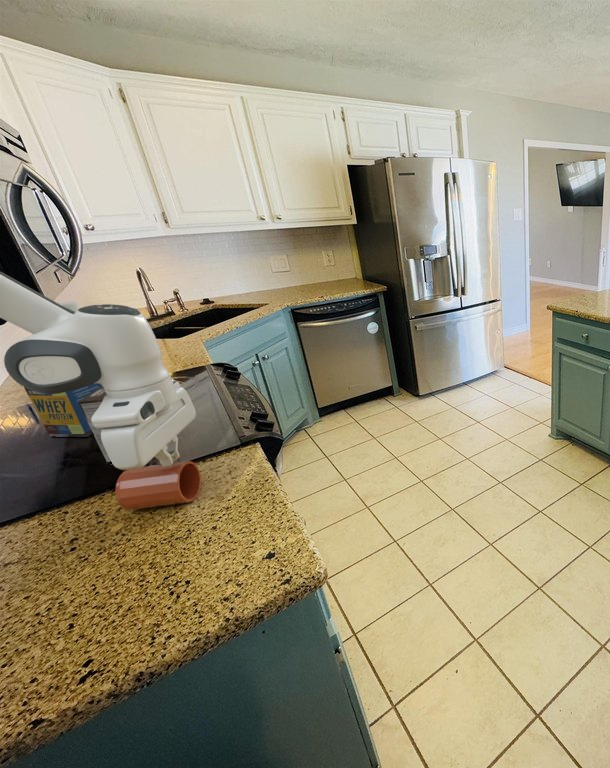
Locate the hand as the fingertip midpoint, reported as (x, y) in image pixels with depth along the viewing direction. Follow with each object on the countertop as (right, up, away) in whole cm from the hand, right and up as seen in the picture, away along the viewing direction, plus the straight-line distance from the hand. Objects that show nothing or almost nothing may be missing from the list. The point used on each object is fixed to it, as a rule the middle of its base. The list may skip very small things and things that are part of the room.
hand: (171, 462), depth 77 cm
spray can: (-122, +30, +101) cm, 161 cm away
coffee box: (-26, -2, +20) cm, 32 cm away
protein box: (-49, +4, +34) cm, 59 cm away
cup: (-8, -5, 0) cm, 9 cm away
